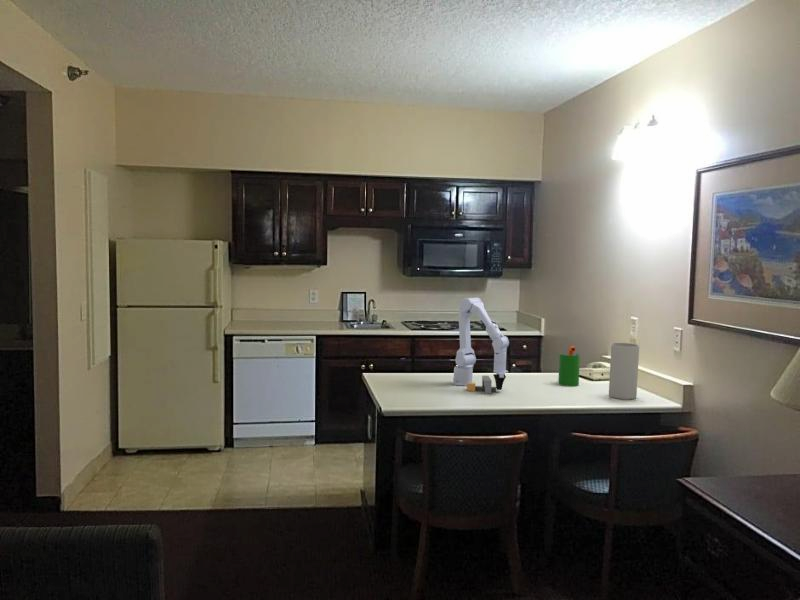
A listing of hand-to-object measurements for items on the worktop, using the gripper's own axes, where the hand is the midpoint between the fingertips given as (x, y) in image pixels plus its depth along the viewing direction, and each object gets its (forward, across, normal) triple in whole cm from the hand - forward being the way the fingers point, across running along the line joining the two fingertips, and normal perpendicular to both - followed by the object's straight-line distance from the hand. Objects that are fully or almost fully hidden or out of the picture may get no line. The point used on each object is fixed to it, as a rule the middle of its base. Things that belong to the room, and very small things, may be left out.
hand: (498, 389), depth 316 cm
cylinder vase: (+1, -4, -58) cm, 58 cm away
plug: (+1, +1, +8) cm, 8 cm away
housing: (+1, 0, +6) cm, 6 cm away
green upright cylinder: (+1, +20, -39) cm, 44 cm away
